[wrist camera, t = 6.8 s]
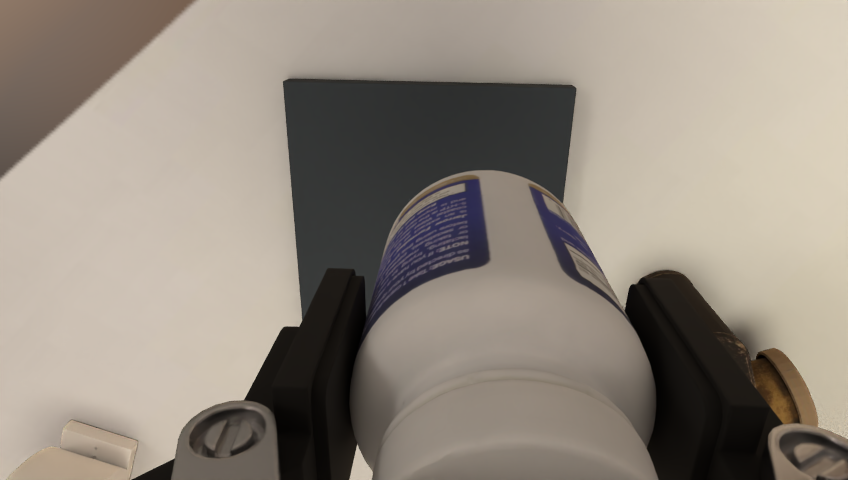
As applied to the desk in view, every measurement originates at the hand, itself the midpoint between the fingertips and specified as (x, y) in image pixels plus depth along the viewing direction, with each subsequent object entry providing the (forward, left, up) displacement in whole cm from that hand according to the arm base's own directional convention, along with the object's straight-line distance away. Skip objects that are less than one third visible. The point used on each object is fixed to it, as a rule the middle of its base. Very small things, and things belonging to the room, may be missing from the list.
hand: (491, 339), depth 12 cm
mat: (+6, -2, -18) cm, 20 cm away
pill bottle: (0, 0, -4) cm, 4 cm away
